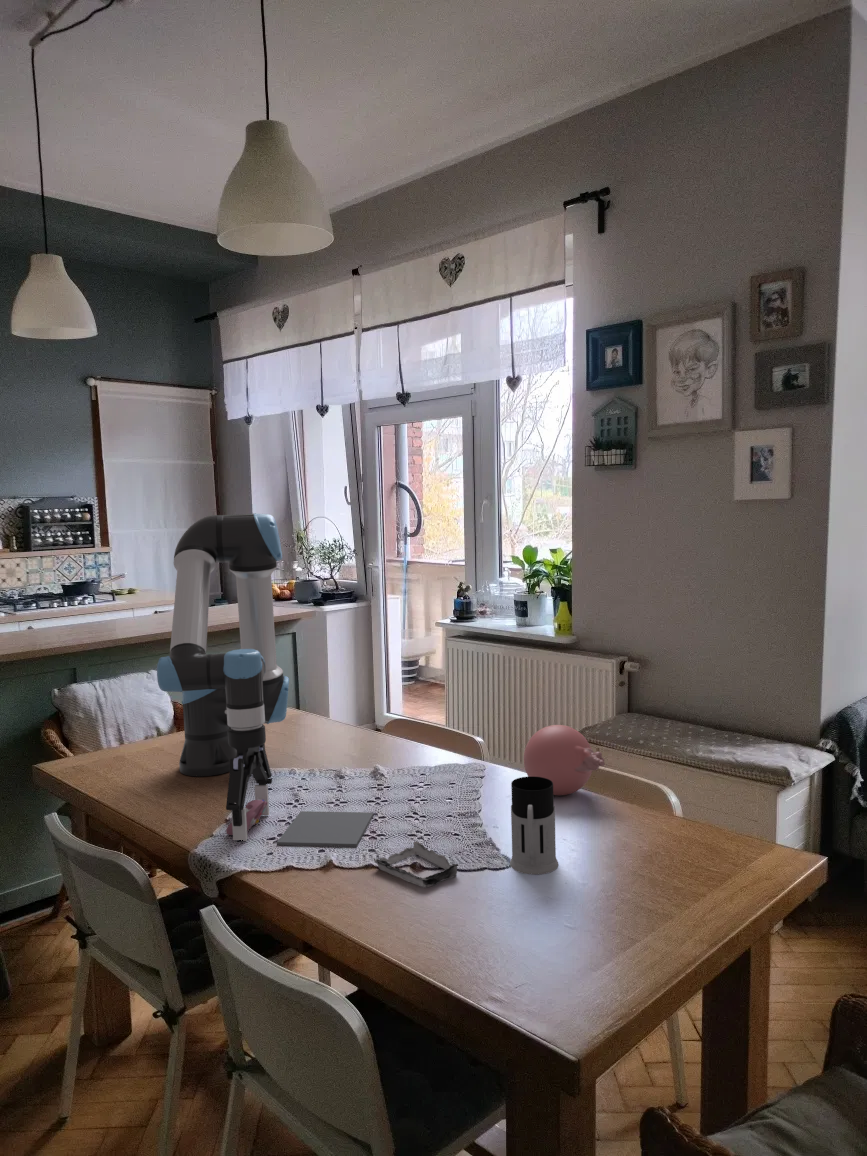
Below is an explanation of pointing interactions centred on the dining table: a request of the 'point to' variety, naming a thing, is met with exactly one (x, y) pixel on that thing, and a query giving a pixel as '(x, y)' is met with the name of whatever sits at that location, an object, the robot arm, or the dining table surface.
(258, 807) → the video game controller
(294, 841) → the charcoal mat
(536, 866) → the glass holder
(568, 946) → the dining table surface
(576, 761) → the balloon
